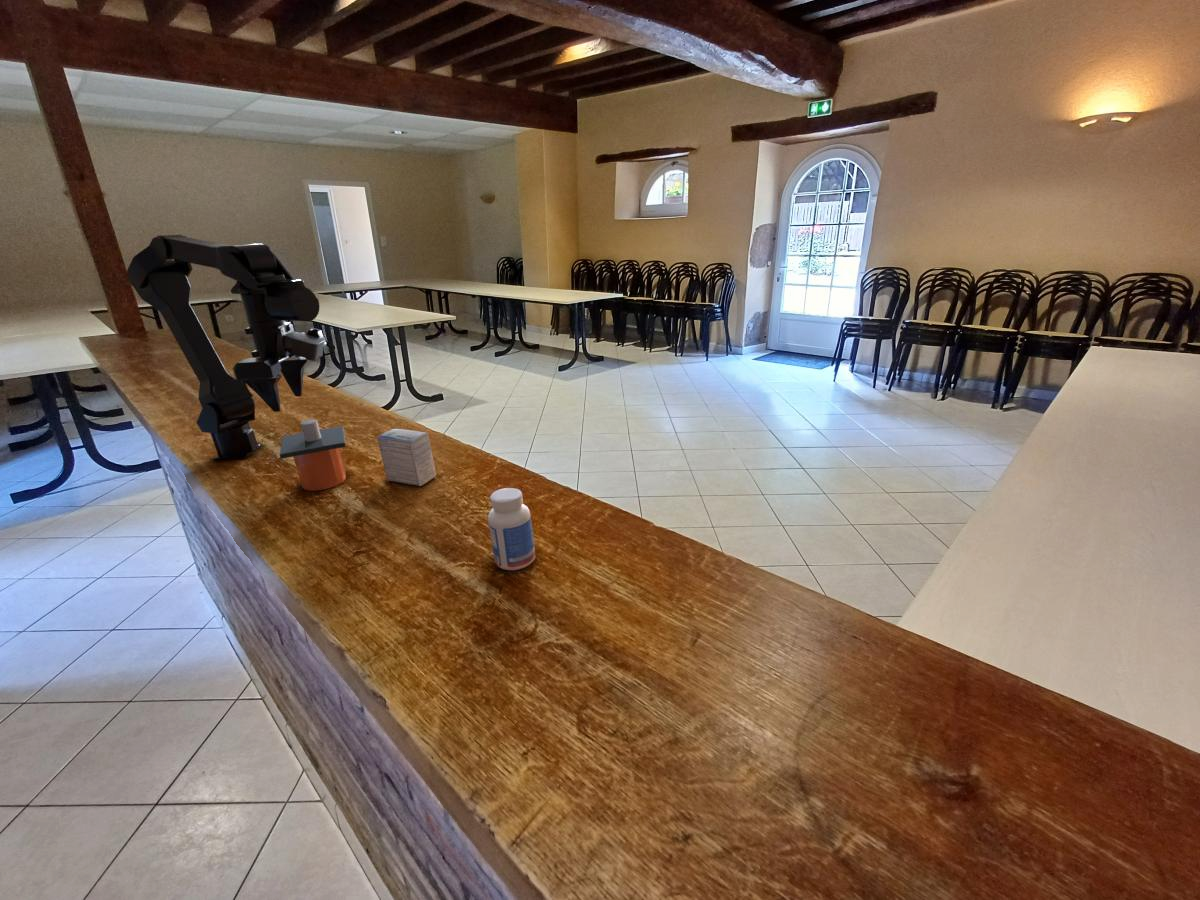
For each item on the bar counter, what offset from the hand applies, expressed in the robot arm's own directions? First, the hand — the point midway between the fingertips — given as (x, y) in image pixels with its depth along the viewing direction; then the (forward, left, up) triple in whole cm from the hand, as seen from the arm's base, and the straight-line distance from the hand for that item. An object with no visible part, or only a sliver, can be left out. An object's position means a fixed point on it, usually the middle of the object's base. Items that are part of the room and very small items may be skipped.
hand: (288, 403), depth 104 cm
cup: (+7, -10, -12) cm, 17 cm away
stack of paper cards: (+23, -12, -12) cm, 29 cm away
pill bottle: (+43, -41, -12) cm, 61 cm away
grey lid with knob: (+7, -10, -5) cm, 13 cm away
